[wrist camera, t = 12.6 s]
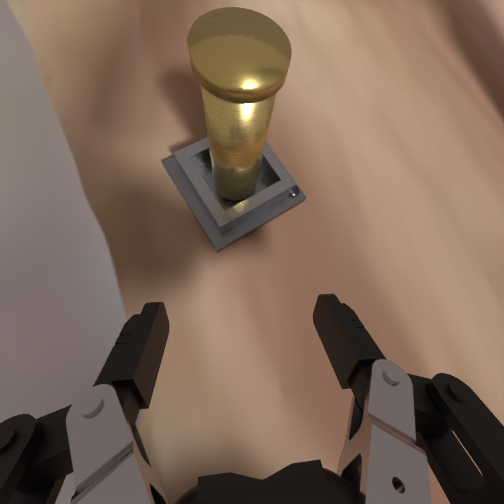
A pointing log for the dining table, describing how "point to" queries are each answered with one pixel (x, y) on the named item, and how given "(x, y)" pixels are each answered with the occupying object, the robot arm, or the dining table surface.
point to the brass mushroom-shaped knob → (238, 90)
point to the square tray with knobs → (225, 210)
